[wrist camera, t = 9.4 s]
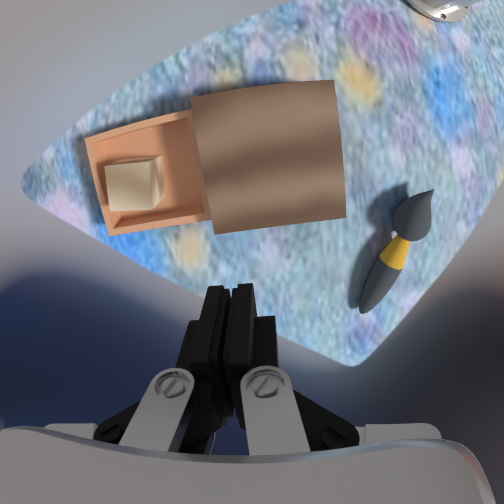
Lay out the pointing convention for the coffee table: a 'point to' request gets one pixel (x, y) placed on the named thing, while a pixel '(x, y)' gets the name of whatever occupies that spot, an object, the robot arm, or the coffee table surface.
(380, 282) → the paintbrush
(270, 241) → the coffee table surface
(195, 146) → the tray
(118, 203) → the beech block
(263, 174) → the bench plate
